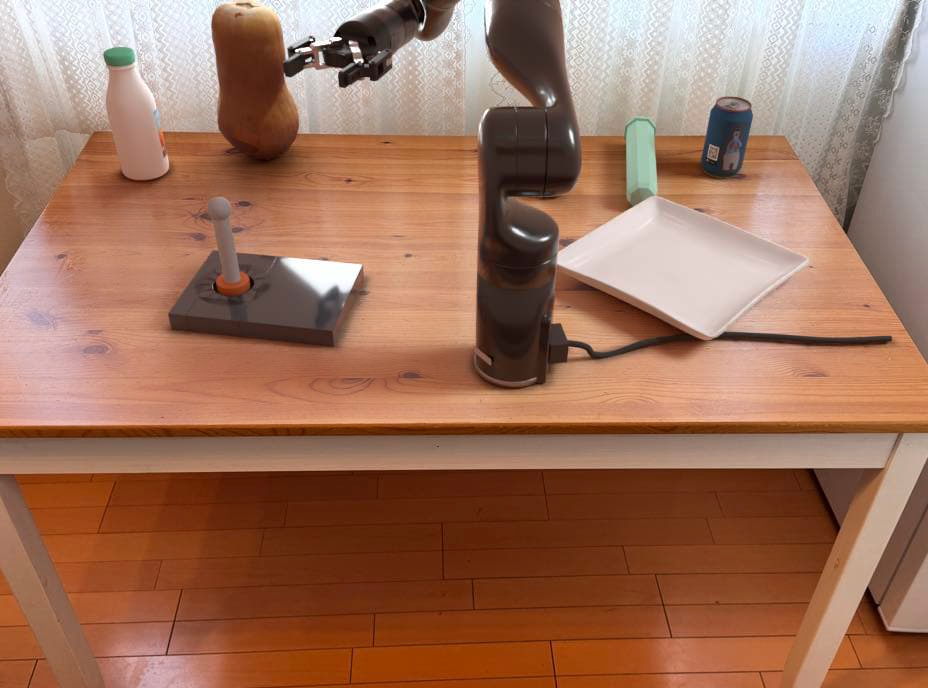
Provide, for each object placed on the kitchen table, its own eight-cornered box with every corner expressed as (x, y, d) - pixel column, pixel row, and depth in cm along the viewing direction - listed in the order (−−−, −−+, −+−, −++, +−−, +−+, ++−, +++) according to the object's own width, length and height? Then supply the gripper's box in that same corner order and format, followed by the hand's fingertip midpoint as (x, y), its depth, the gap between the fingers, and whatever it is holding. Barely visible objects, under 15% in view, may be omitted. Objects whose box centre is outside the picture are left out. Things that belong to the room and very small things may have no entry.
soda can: (715, 158, 161) (728, 91, 153) (748, 171, 157) (764, 104, 149) (691, 169, 157) (703, 102, 149) (724, 184, 153) (739, 115, 145)
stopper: (256, 292, 126) (240, 191, 116) (246, 309, 123) (227, 208, 113) (226, 288, 127) (207, 188, 117) (214, 306, 123) (194, 205, 113)
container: (656, 178, 141) (652, 110, 159) (618, 189, 143) (619, 121, 161) (665, 211, 144) (660, 141, 163) (628, 220, 146) (628, 150, 165)
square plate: (708, 361, 116) (714, 336, 114) (543, 279, 130) (544, 256, 127) (808, 277, 131) (815, 254, 129) (650, 212, 145) (654, 190, 143)
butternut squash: (314, 142, 163) (299, -5, 146) (285, 175, 153) (266, 21, 137) (242, 133, 165) (219, -13, 149) (209, 165, 155) (181, 13, 139)
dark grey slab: (364, 279, 129) (363, 264, 128) (334, 346, 117) (332, 330, 116) (215, 264, 131) (212, 249, 130) (171, 329, 119) (167, 313, 118)
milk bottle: (163, 182, 150) (135, 60, 137) (116, 181, 150) (84, 59, 137) (175, 161, 156) (150, 42, 143) (130, 160, 156) (101, 41, 143)
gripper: (326, 4, 134) (265, 39, 123) (412, 19, 130) (357, 56, 119) (331, 56, 139) (272, 93, 128) (414, 71, 135) (361, 111, 124)
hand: (313, 75), depth 123 cm, fingers open, 8 cm apart
